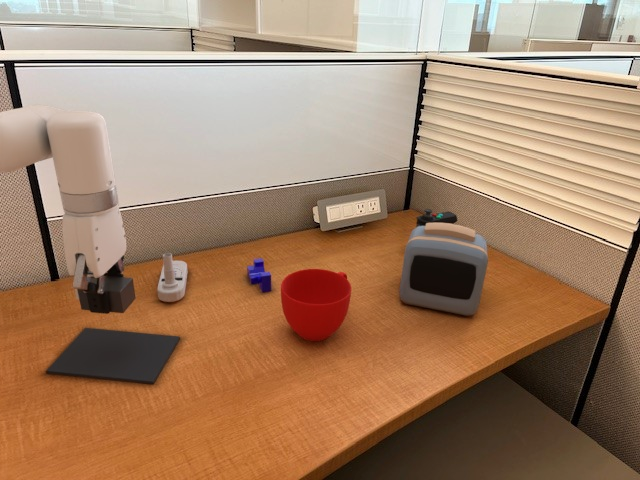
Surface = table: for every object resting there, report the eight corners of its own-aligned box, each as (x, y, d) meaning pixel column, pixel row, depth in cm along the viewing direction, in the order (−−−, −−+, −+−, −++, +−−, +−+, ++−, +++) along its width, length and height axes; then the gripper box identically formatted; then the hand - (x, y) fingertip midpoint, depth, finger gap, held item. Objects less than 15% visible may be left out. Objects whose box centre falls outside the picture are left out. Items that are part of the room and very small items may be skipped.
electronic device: (185, 231, 108) (180, 260, 94) (188, 269, 112) (184, 302, 98) (160, 232, 107) (151, 261, 93) (164, 271, 111) (157, 304, 97)
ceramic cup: (370, 317, 96) (374, 274, 92) (323, 361, 84) (326, 313, 79) (317, 296, 103) (319, 255, 99) (266, 334, 90) (265, 288, 86)
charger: (74, 309, 77) (69, 287, 75) (88, 294, 81) (84, 273, 79) (123, 313, 76) (119, 291, 74) (136, 298, 80) (132, 277, 78)
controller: (410, 243, 129) (415, 208, 125) (445, 235, 135) (450, 202, 130) (420, 249, 126) (425, 214, 122) (455, 242, 131) (462, 208, 127)
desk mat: (46, 373, 78) (45, 370, 78) (85, 330, 89) (85, 327, 89) (153, 384, 77) (153, 381, 77) (180, 339, 88) (179, 336, 87)
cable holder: (247, 275, 110) (246, 260, 108) (262, 273, 111) (262, 258, 109) (255, 293, 103) (255, 277, 101) (271, 291, 104) (271, 275, 102)
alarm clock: (396, 305, 101) (405, 237, 94) (407, 270, 115) (415, 209, 108) (476, 321, 97) (492, 251, 90) (477, 283, 111) (490, 220, 104)
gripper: (95, 179, 78) (111, 276, 86) (29, 218, 63) (56, 332, 71) (139, 182, 78) (152, 279, 86) (83, 222, 63) (105, 336, 70)
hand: (108, 302), depth 78 cm, fingers closed on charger, 4 cm apart
